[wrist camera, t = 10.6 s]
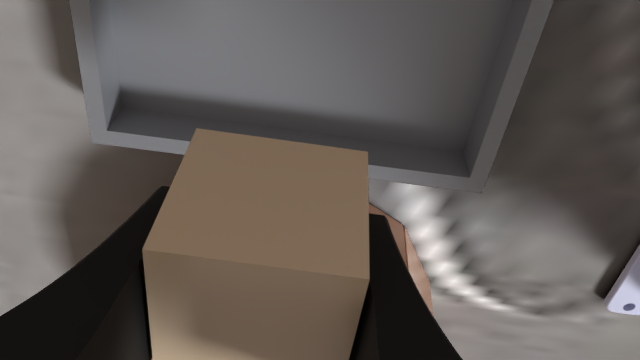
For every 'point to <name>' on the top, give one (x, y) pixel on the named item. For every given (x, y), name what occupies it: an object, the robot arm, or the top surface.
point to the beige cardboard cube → (259, 251)
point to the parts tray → (313, 76)
